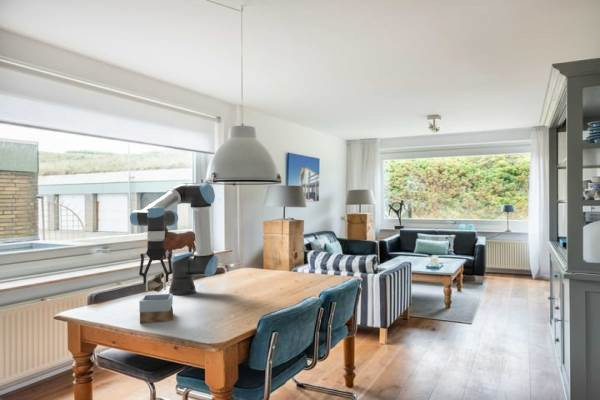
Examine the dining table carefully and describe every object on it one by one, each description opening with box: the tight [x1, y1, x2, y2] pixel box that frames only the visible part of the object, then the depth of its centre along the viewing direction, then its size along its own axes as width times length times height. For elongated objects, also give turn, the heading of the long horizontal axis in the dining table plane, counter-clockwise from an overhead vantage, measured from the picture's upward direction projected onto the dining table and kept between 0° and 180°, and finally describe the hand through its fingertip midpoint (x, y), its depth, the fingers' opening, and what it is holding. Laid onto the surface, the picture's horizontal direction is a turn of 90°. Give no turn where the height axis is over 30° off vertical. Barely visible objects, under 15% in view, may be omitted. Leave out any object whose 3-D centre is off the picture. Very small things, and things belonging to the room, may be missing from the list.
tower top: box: [139, 293, 174, 314], centre depth 193 cm, size 13×13×5 cm
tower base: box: [139, 306, 174, 325], centre depth 193 cm, size 14×14×5 cm
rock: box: [148, 271, 165, 293], centre depth 193 cm, size 9×7×10 cm
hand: (155, 289), depth 193 cm, fingers closed on rock, 7 cm apart
